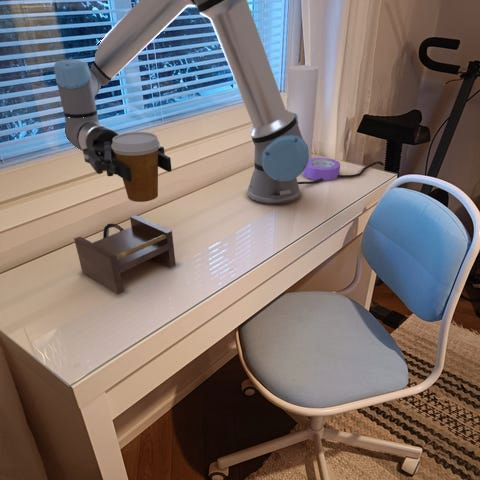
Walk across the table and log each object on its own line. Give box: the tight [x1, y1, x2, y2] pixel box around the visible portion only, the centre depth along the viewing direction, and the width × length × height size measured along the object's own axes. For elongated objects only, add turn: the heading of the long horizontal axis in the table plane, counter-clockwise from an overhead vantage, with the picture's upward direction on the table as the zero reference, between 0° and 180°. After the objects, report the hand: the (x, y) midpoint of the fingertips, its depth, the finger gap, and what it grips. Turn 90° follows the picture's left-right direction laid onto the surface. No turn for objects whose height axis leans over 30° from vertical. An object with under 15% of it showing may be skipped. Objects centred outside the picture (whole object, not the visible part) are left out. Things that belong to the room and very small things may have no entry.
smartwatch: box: [102, 223, 124, 239], centre depth 110 cm, size 4×5×5 cm
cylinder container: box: [286, 64, 320, 159], centre depth 152 cm, size 9×9×30 cm
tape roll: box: [302, 157, 341, 182], centre depth 148 cm, size 12×12×4 cm
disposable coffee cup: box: [111, 131, 161, 203], centre depth 92 cm, size 10×10×12 cm
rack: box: [73, 214, 177, 295], centre depth 99 cm, size 16×13×8 cm
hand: (149, 169), depth 89 cm, fingers closed on disposable coffee cup, 8 cm apart
